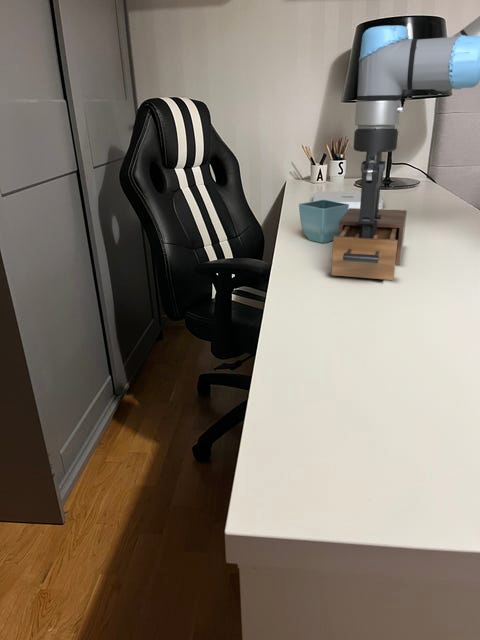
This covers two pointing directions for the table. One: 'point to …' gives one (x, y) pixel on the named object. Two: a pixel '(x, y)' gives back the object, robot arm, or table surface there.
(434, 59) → the robot arm
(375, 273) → the drawer
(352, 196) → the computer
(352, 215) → the cabinet
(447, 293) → the table surface
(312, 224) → the flower pot
